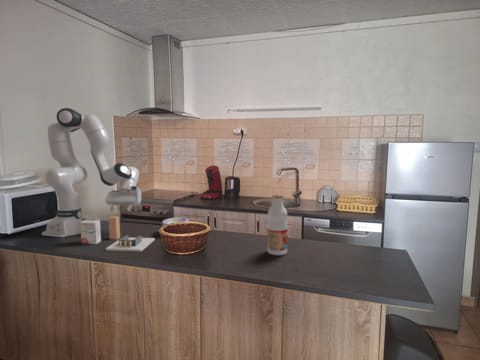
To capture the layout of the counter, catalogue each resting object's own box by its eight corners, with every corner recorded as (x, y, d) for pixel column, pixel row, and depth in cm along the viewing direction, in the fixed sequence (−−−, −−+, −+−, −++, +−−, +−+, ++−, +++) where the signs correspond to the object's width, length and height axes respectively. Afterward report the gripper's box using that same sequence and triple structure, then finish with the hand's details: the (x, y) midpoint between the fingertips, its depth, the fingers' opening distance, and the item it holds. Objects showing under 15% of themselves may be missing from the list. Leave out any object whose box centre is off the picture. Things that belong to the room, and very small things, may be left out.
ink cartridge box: (81, 243, 163) (79, 216, 161) (86, 240, 168) (84, 214, 166) (96, 244, 162) (94, 216, 160) (101, 241, 167) (100, 214, 165)
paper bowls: (159, 232, 184) (159, 218, 183) (184, 228, 191) (184, 216, 190) (166, 239, 171) (166, 224, 170) (192, 235, 178) (192, 221, 177)
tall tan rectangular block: (109, 239, 170) (108, 217, 169) (113, 237, 174) (112, 216, 173) (116, 239, 170) (115, 218, 169) (120, 237, 174) (119, 216, 173)
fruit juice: (266, 249, 154) (266, 193, 151) (285, 248, 155) (285, 193, 151) (268, 256, 145) (269, 196, 142) (288, 255, 145) (289, 196, 142)
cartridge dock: (105, 250, 153) (105, 242, 152) (122, 239, 171) (122, 231, 170) (141, 251, 151) (140, 243, 151) (154, 239, 169) (154, 232, 169)
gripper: (107, 187, 184) (99, 207, 175) (141, 187, 182) (134, 207, 173) (111, 193, 189) (104, 212, 180) (144, 193, 187) (138, 213, 178)
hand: (119, 210), depth 177 cm, fingers open, 8 cm apart
